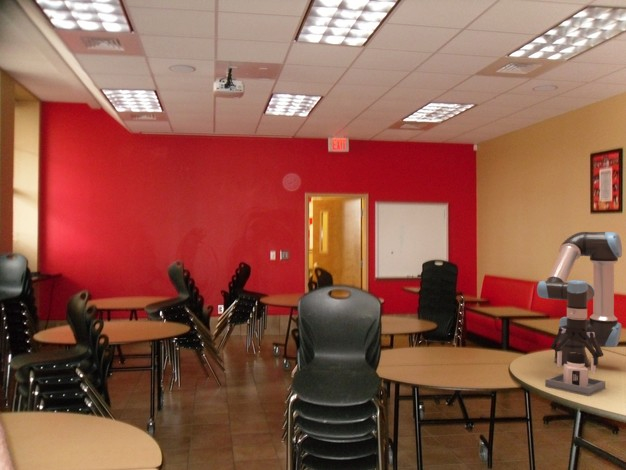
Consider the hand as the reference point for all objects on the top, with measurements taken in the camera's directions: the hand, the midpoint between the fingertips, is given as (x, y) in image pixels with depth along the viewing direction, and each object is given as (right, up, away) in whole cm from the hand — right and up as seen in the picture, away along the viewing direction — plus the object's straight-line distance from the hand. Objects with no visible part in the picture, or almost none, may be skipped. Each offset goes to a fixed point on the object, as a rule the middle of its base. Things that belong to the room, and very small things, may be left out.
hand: (575, 370), depth 226 cm
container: (0, -6, 0) cm, 6 cm away
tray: (0, -7, 0) cm, 7 cm away
